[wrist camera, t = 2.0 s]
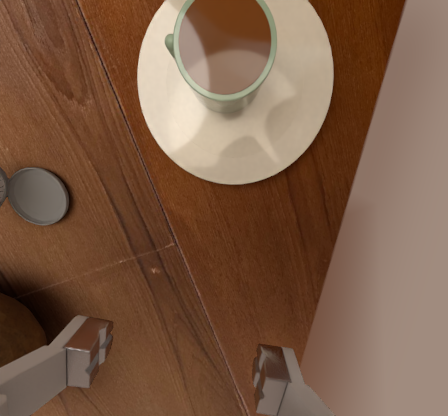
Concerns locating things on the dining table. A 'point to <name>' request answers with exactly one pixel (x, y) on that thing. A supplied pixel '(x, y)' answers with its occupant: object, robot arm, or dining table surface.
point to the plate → (249, 116)
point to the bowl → (18, 331)
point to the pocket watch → (35, 195)
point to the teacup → (224, 50)
